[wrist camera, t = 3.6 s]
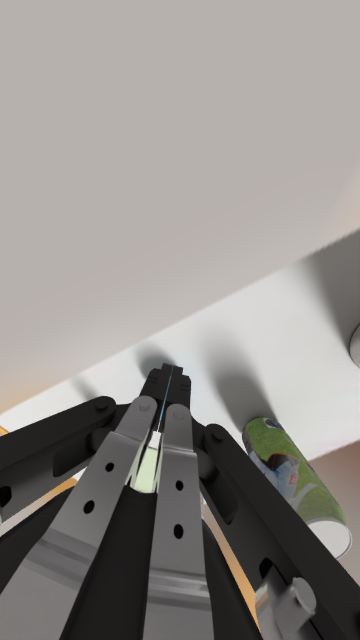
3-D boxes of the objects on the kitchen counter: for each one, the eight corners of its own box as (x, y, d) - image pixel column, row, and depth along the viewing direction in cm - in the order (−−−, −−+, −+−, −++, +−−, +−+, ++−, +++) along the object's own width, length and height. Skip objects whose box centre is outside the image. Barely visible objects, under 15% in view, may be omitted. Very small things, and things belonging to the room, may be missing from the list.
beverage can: (231, 430, 26) (255, 553, 15) (262, 399, 24) (318, 516, 13) (264, 449, 27) (312, 584, 15) (298, 421, 25) (383, 553, 13)
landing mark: (122, 439, 30) (122, 441, 30) (189, 458, 29) (188, 460, 29) (116, 482, 33) (115, 484, 33) (174, 500, 33) (174, 501, 33)
